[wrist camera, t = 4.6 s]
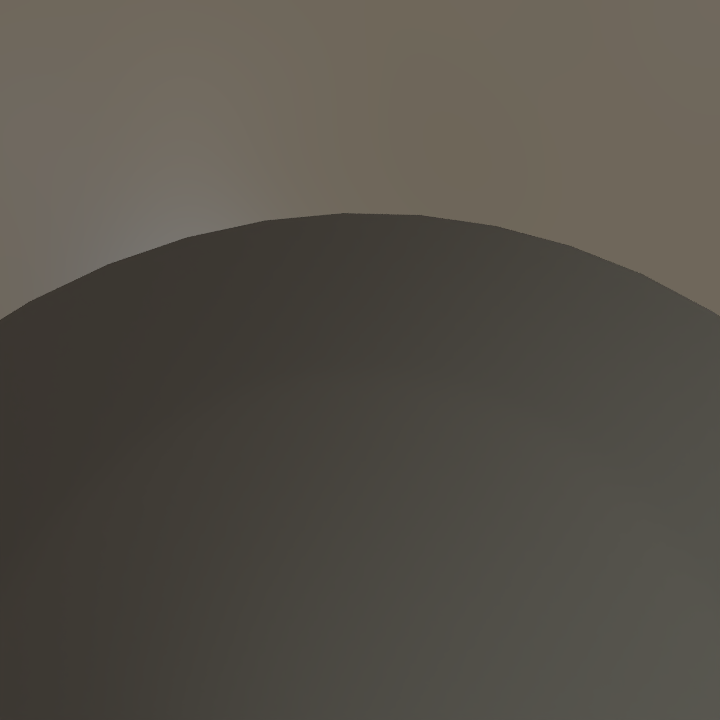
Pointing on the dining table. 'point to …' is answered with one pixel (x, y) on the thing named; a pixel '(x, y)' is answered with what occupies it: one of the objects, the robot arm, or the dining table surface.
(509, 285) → the grey brown rounded piece
